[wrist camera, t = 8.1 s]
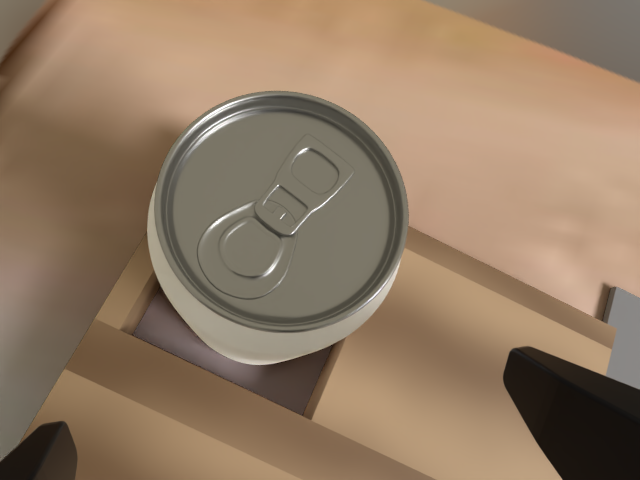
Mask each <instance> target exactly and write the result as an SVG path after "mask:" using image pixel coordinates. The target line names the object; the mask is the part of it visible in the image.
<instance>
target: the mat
mask: <svg viewBox="0 0 640 480" xmlns="http://www.w3.org/2000/svg"><path fill="white" fill-rule="evenodd" d="M602 322H604V323H606V324H609V325H611V326H613V327H615V328H617V331H616V335H615V339H614V343H613V347H612V351H611V356H610V360H609V364H608V368H607V372H606V376H607V377H610V378H612V379H615V380H617V381H620V382H622V383H625V384H627V385H630V386H632V387H635V388H637V389H640V298H639V297H637V296H635V295H633V294H631V293H629V292H627V291H625V290H623V289H620V288H618V287H613V288H611V290H610V293H609V297H608V301H607V305H606V309H605V313H604V317H603V321H602Z"/></svg>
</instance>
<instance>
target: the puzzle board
mask: <svg viewBox="0 0 640 480" xmlns="http://www.w3.org/2000/svg"><path fill="white" fill-rule="evenodd" d="M160 286H161V285H160V283H159V281H158V279H157V276H156V274H155V271H154V268H153V265H152V261H151V257H150V252H149V246H148V236H147V232H146V234H145V236H144V237H143V239H142V241H141V242H140V244H139V246H138V247H137V249H136V251H135V252H134V254H133V256H132V257H131V259H130V261H129V262H128V264H127V266H126V267H125V269H124V271H123V272H122V274H121V275H120V277H119V279H118V280H117V282H116V284H115V285H114V287H113V289H112V290H111V292H110V294H109V295H108V297H107V299H106V300H105V302H104V304H103V305H102V307H101V309H100V310H99V312H98V314H97V315H96V317H95V319H94V320H93V322H92V324H91V325H90V327H89V329H88V330H87V332H86V334H85V335H84V337H83V339H82V340H81V342H80V343H79V345H78V347H77V348H76V350H75V352H74V353H73V355H72V357H71V358H70V360H69V362H68V363H67V365H66V367H65V368H64V370H63V372H62V373H61V375H60V377H59V378H58V380H57V382H56V383H55V385H54V387H53V388H52V390H51V392H50V393H49V395H48V397H47V398H46V400H45V402H44V403H43V405H42V406H41V408H40V410H39V411H38V413H37V415H36V416H35V418H34V420H33V421H32V423H31V425H30V426H29V428H28V430H27V431H26V433H25V435H24V436H23V438H22V440H21V441H20V443H21V442H22V441H23V440H24V439H25V438H26V437H27V436H29V435H30V434H31V433H32V432H33V431H34V430H35V429H36V428H37V427H39V426H40V425H41V424H44V423H50V422H56V421H65V422H66V423H67V425H68V427H69V430H70V432H71V435H72V438H73V440H74V443H75V446H76V449H77V456H78V461H77V470H76V476H75V480H562V478H561V477H560V476H559V474H558V473H557V471H556V470H555V469H554V467H553V466H552V464H551V463H550V461H549V460H548V459H547V457H546V456H545V454H544V453H543V452H542V450H541V449H540V447H539V446H538V444H537V443H536V441H535V439H534V438H533V436H532V434H531V433H530V431H529V429H528V427H527V425H526V424H525V422H524V420H523V418H522V417H521V415H520V413H519V411H518V410H517V408H516V406H515V404H514V402H513V401H512V399H511V397H510V395H509V394H508V392H507V390H506V388H505V386H504V383H503V372H504V369H505V365H506V362H507V358H508V355H509V352H510V350H511V349H513V348H516V347H522V346H531V347H534V348H536V349H539V350H541V351H544V352H546V353H549V354H551V355H554V356H556V357H559V358H561V359H564V360H566V361H569V362H572V363H574V364H577V365H579V366H582V367H584V368H587V369H589V370H592V371H594V372H597V373H599V374H602V375H604V376H606V372H607V368H608V364H609V360H610V356H611V351H612V347H613V343H614V339H615V335H616V331H617V328H615V327H613V326H611V325H609V324H606V323H604V322H602V321H600V320H598V319H596V318H594V317H592V316H590V315H588V314H586V313H584V312H582V311H580V310H578V309H576V308H574V307H572V306H570V305H568V304H566V303H564V302H562V301H560V300H558V299H556V298H554V297H552V296H550V295H548V294H546V293H544V292H541V291H539V290H537V289H535V288H533V287H531V286H529V285H527V284H525V283H523V282H521V281H519V280H517V279H515V278H513V277H511V276H509V275H507V274H505V273H503V272H501V271H499V270H497V269H495V268H493V267H491V266H489V265H487V264H485V263H483V262H481V261H479V260H477V259H474V258H472V257H470V256H468V255H466V254H464V253H462V252H460V251H458V250H456V249H454V248H452V247H450V246H448V245H446V244H444V243H442V242H440V241H438V240H436V239H434V238H432V237H430V236H428V235H426V234H424V233H422V232H420V231H418V230H416V229H414V228H412V227H409V226H408V233H407V239H406V243H405V247H404V250H403V253H402V256H401V260H400V265H399V268H398V271H397V274H396V277H395V280H394V282H393V284H392V286H391V288H390V290H389V292H388V294H387V296H386V297H385V299H384V300H383V302H382V303H381V305H380V306H379V307H378V308H377V310H376V311H375V312H374V313H373V314H372V315H371V316H370V317H369V319H368V320H366V321H365V322H364V323H363V324H362V325H361V326H360V327H359V328H358V329H356V330H355V331H354V332H352V333H351V334H350V335H348V336H347V337H345V338H343V339H342V340H340V341H338V342H336V343H334V344H333V346H332V348H331V351H330V353H329V355H328V358H327V360H326V362H325V364H324V367H323V369H322V371H321V374H320V376H319V378H318V381H317V383H316V385H315V388H314V390H313V392H312V395H311V397H310V399H309V402H308V404H307V406H306V409H305V411H304V413H303V415H301V414H298V413H296V412H294V411H292V410H290V409H288V408H286V407H284V406H281V405H279V404H277V403H275V402H273V401H271V400H269V399H267V398H265V397H262V396H260V395H258V394H256V393H254V392H252V391H250V390H248V389H246V388H243V387H241V386H239V385H237V384H235V383H233V382H231V381H229V380H226V379H224V378H222V377H220V376H218V375H216V374H214V373H212V372H210V371H207V370H205V369H203V368H201V367H199V366H197V365H195V364H193V363H190V362H188V361H186V360H184V359H182V358H180V357H178V356H176V355H174V354H171V353H169V352H167V351H165V350H163V349H161V348H159V347H157V346H155V345H152V344H150V343H148V342H146V341H144V340H142V339H140V338H138V337H135V336H133V333H134V331H135V329H136V328H137V326H138V324H139V322H140V321H141V319H142V317H143V315H144V314H145V312H146V310H147V308H148V307H149V305H150V303H151V301H152V300H153V298H154V296H155V294H156V293H157V291H158V289H159V287H160ZM20 443H19V444H20Z"/></svg>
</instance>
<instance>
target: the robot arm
mask: <svg viewBox="0 0 640 480" xmlns="http://www.w3.org/2000/svg"><path fill="white" fill-rule="evenodd" d="M503 383H504V386H505V388H506V390H507V392H508V394H509V395H510V397H511V399H512V401H513V402H514V404H515V406H516V408H517V410H518V411H519V413H520V415H521V417H522V418H523V420H524V422H525V424H526V425H527V427H528V429H529V431H530V433H531V434H532V436H533V438H534V439H535V441H536V443H537V444H538V446H539V447H540V449H541V450H542V452H543V453H544V454H545V456H546V457H547V459H548V460H549V461H550V463H551V464H552V466H553V467H554V469H555V470H556V471H557V473H558V474H559V476H560V477H561V478H562V480H640V389H637V388H635V387H632V386H630V385H627V384H625V383H622V382H620V381H617V380H615V379H612V378H610V377H607V376H604V375H602V374H599V373H597V372H594V371H592V370H589V369H587V368H584V367H582V366H579V365H577V364H574V363H572V362H569V361H566V360H564V359H561V358H559V357H556V356H554V355H551V354H549V353H546V352H544V351H541V350H539V349H536V348H534V347H531V346H522V347H516V348H513V349H511V350H510V352H509V355H508V358H507V362H506V365H505V369H504V372H503ZM77 461H78V456H77V449H76V446H75V443H74V440H73V438H72V435H71V432H70V430H69V427H68V425H67V423H66V422H65V421H56V422H50V423H44V424H41V425H40V426H39V427H37V428H36V429H35V430H34V431H33V432H32V433H31V434H30V435H29V436H27V437H26V438H25V439H24V440H23V441H22V442H21V443H20V444H19V445H18V446H17V447H15V448H14V449H13V450H12V451H11V452H10V453H9V454H8V455H7V456H6V457H5V458H4V459H2V460H1V461H0V480H75V476H76V470H77Z"/></svg>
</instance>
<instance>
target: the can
mask: <svg viewBox="0 0 640 480" xmlns="http://www.w3.org/2000/svg"><path fill="white" fill-rule="evenodd" d="M408 223H409V210H408V200H407V194H406V190H405V186H404V182H403V179H402V176H401V174H400V171H399V169H398V167H397V165H396V162H395V161H394V159H393V157H392V155H391V154H390V152H389V150H388V149H387V147H386V146H385V145H384V143H383V142H382V141H381V140H380V138H379V137H378V136H377V135H376V134H375V133H374V132H373V131H372V130H371V129H370V128H369V127H368V126H367V125H366V124H365V123H364V122H362V121H361V120H360V119H359V118H357V117H356V116H354V115H353V114H351V113H350V112H348V111H347V110H345V109H343V108H342V107H340V106H338V105H336V104H334V103H331V102H329V101H327V100H324V99H321V98H318V97H315V96H311V95H307V94H303V93H297V92H289V91H265V92H256V93H251V94H246V95H242V96H239V97H236V98H233V99H230V100H228V101H225V102H223V103H221V104H219V105H217V106H215V107H213V108H211V109H210V110H208V111H207V112H205V113H204V114H202V115H201V116H200V117H198V118H197V119H196V120H195V121H193V122H192V123H191V124H190V125H189V126H188V127H187V128H186V129H185V130H184V131H183V132H182V134H181V135H180V136H179V137H178V139H177V140H176V141H175V143H174V144H173V146H172V147H171V149H170V150H169V152H168V154H167V156H166V158H165V160H164V162H163V165H162V167H161V170H160V173H159V176H158V180H157V183H156V186H155V188H154V191H153V194H152V197H151V201H150V206H149V212H148V221H147V236H148V246H149V252H150V257H151V261H152V265H153V268H154V271H155V274H156V276H157V279H158V281H159V283H160V285H161V287H162V289H163V291H164V292H165V294H166V296H167V297H168V299H169V301H170V302H171V304H172V305H173V307H174V308H175V309H176V310H177V312H178V313H179V314H180V316H181V317H182V318H183V319H184V321H185V322H186V323H187V324H188V325H189V326H190V328H191V329H192V330H193V331H194V332H195V333H196V334H197V335H198V336H199V338H200V339H201V340H202V341H203V342H205V343H206V344H207V345H208V346H209V347H210V348H212V349H213V350H215V351H216V352H218V353H219V354H221V355H223V356H225V357H227V358H229V359H232V360H234V361H237V362H240V363H245V364H251V365H266V364H273V363H278V362H282V361H286V360H290V359H293V358H297V357H300V356H303V355H307V354H310V353H313V352H315V351H318V350H321V349H323V348H326V347H328V346H330V345H332V344H334V343H336V342H338V341H340V340H342V339H343V338H345V337H347V336H348V335H350V334H351V333H352V332H354V331H355V330H356V329H358V328H359V327H360V326H361V325H362V324H363V323H364V322H365V321H366V320H368V319H369V317H370V316H371V315H372V314H373V313H374V312H375V311H376V310H377V308H378V307H379V306H380V305H381V303H382V302H383V300H384V299H385V297H386V296H387V294H388V292H389V290H390V288H391V286H392V284H393V282H394V280H395V277H396V274H397V271H398V268H399V265H400V260H401V256H402V253H403V250H404V247H405V243H406V239H407V233H408Z"/></svg>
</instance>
